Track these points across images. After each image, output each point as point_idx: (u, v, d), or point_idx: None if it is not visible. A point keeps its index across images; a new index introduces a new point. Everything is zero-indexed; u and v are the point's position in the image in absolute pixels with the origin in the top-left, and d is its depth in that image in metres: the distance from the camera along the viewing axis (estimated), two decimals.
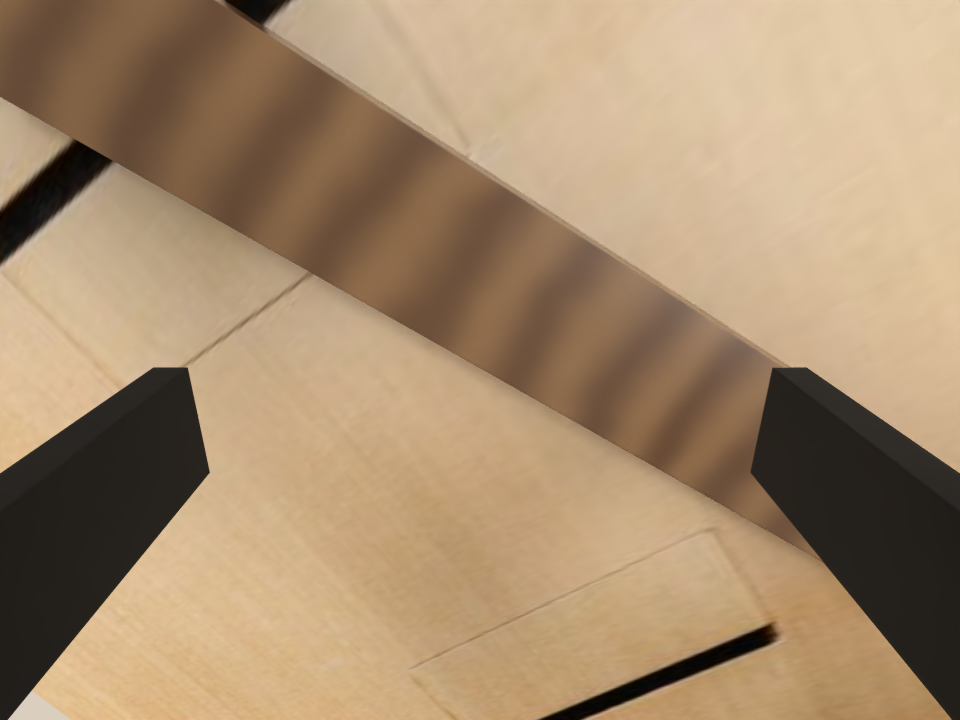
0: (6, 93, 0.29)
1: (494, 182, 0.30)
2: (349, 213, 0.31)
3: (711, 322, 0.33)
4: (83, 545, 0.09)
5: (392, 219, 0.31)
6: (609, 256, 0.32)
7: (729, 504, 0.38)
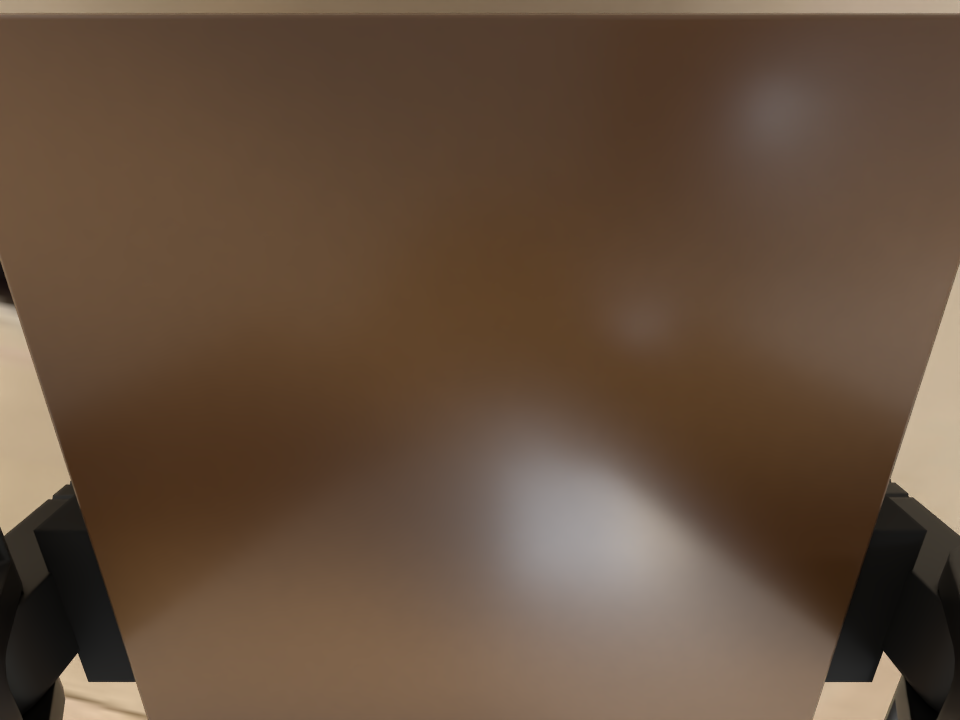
0: (85, 437, 0.06)
1: None
2: None
3: None
4: None
5: None
6: None
7: None
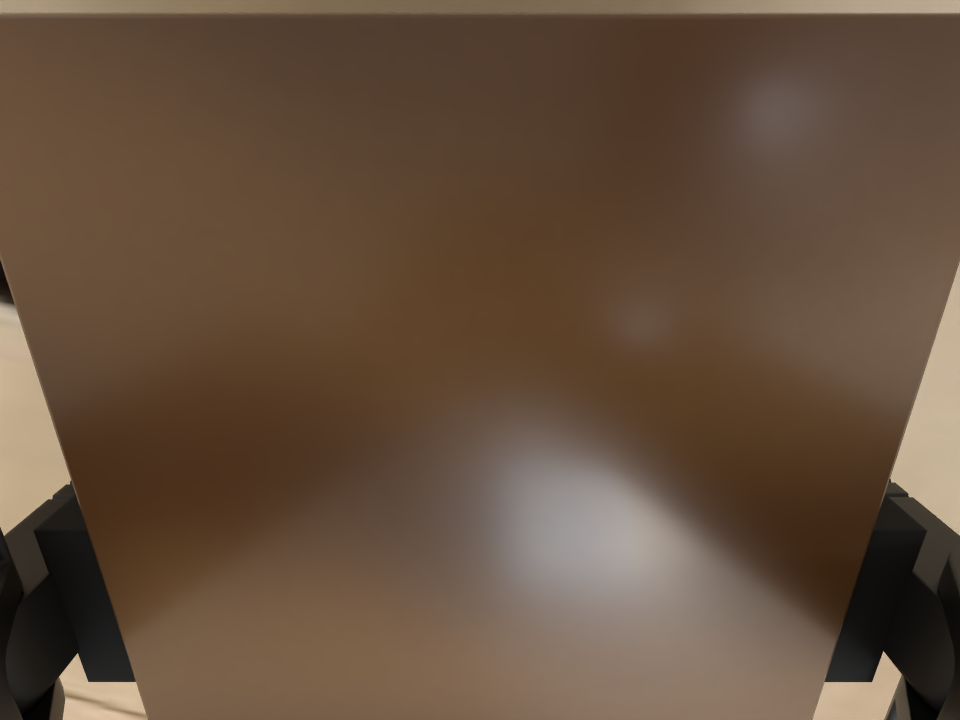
0: (85, 437, 0.06)
1: None
2: None
3: None
4: None
5: None
6: None
7: None
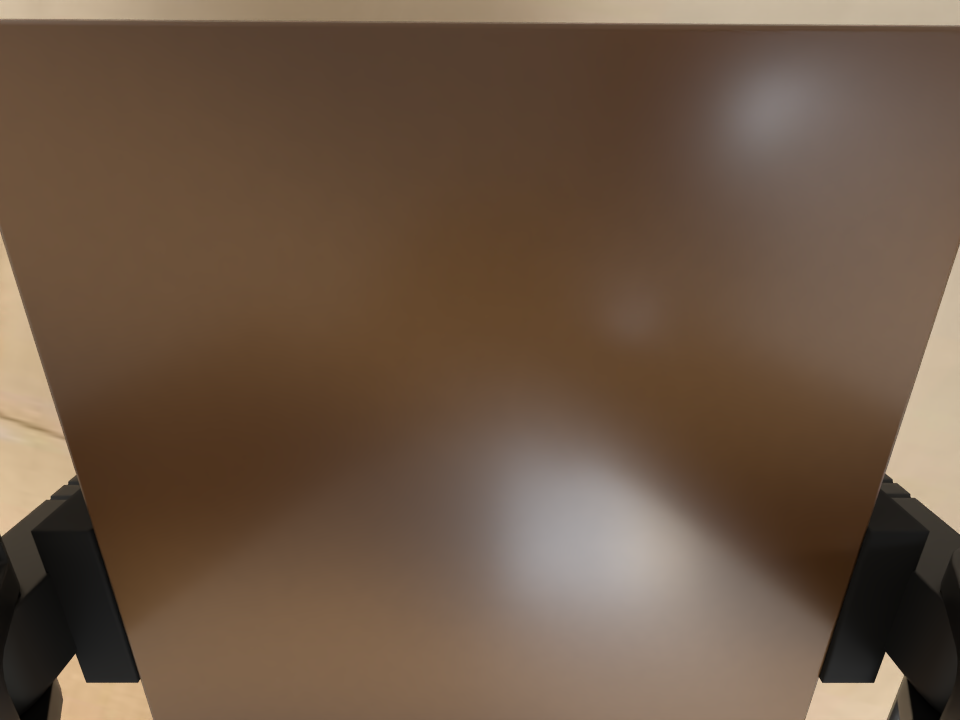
0: (94, 438, 0.06)
1: None
2: None
3: None
4: None
5: None
6: None
7: None
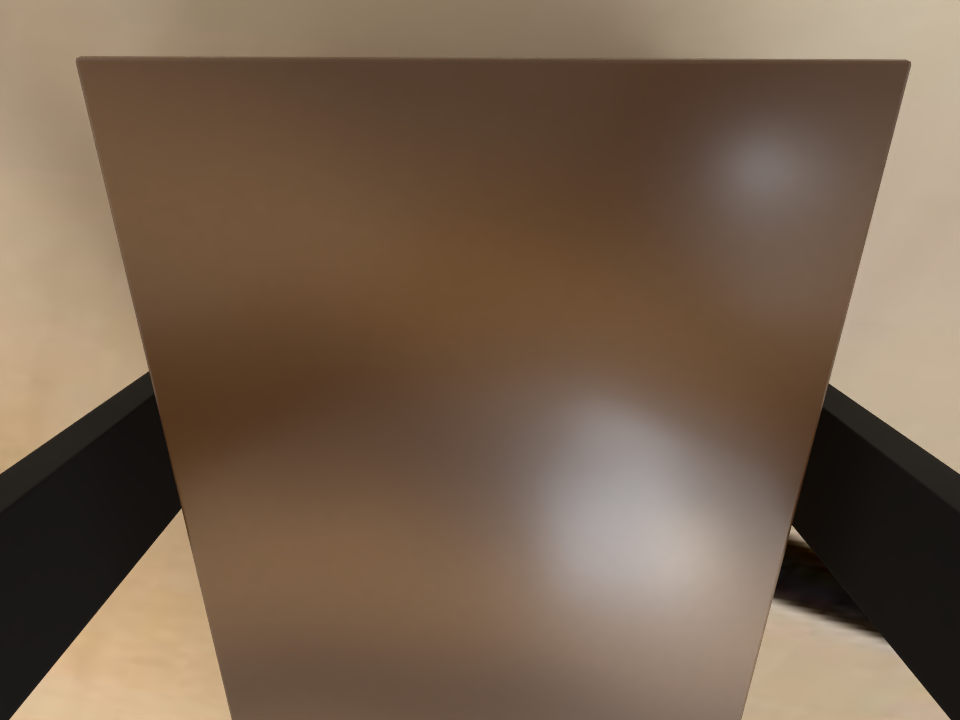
0: (176, 386, 0.08)
1: None
2: None
3: None
4: (85, 544, 0.09)
5: None
6: None
7: None
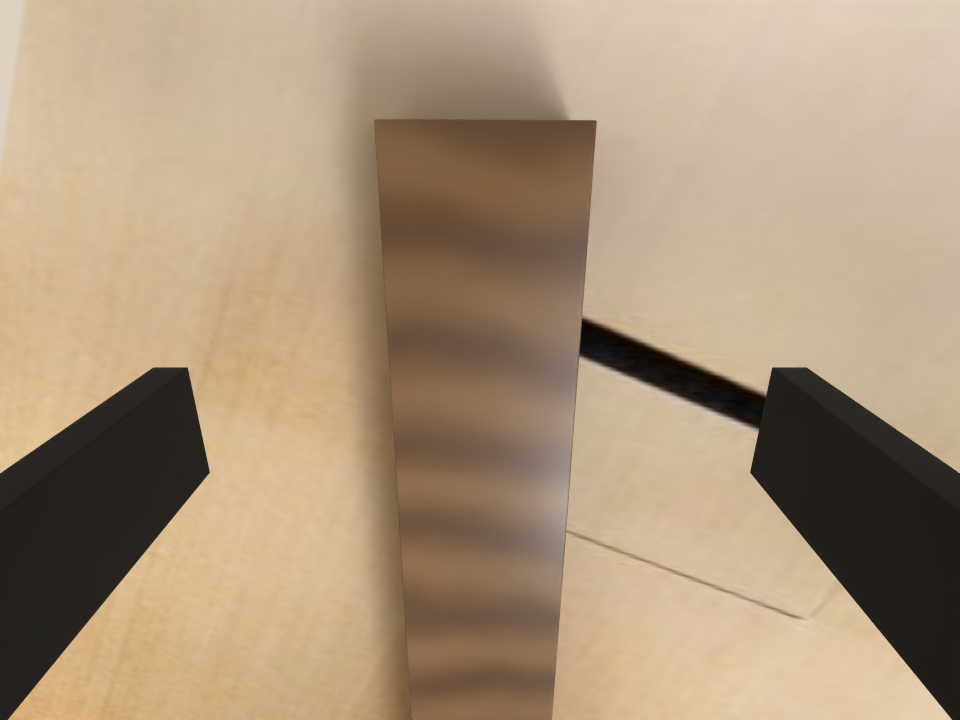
0: (387, 217, 0.26)
1: (559, 605, 0.35)
2: (470, 527, 0.33)
3: None
4: (83, 545, 0.09)
5: (485, 557, 0.34)
6: (552, 692, 0.38)
7: None
